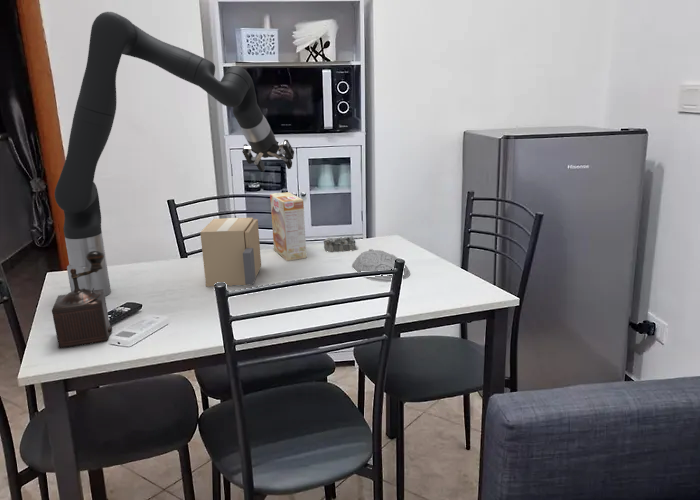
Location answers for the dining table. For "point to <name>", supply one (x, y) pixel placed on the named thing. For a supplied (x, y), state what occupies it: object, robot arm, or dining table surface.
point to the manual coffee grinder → (82, 311)
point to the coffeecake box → (288, 225)
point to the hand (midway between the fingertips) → (276, 168)
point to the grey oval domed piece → (377, 264)
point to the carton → (224, 250)
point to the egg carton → (339, 244)
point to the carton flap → (252, 253)
